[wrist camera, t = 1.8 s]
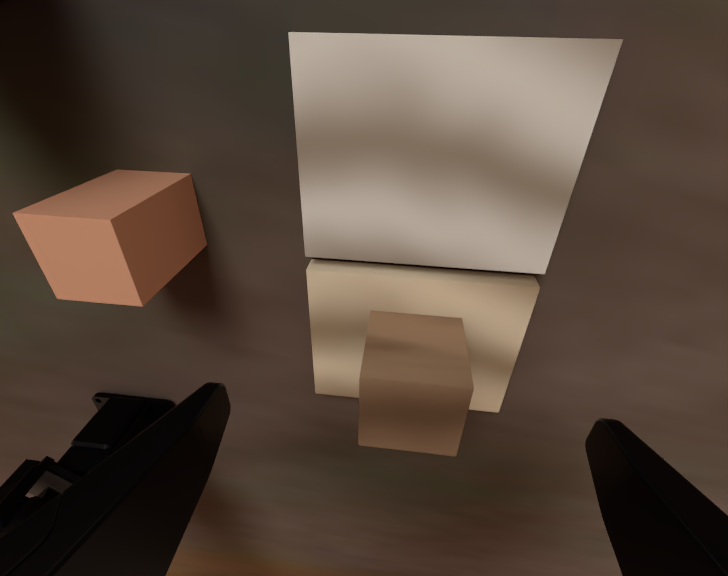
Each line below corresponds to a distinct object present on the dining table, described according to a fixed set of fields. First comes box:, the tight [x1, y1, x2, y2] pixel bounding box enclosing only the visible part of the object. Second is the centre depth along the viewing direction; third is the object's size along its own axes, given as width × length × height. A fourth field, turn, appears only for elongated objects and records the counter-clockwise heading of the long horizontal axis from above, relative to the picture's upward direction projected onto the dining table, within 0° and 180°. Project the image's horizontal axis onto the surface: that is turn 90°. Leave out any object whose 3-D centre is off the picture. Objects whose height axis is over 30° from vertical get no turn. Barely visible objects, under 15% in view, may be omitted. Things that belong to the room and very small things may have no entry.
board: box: [288, 32, 623, 413], centre depth 20 cm, size 20×12×1 cm, turn 179°
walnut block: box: [358, 310, 474, 456], centre depth 20 cm, size 5×5×5 cm
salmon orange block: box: [13, 170, 207, 307], centre depth 18 cm, size 4×4×6 cm
